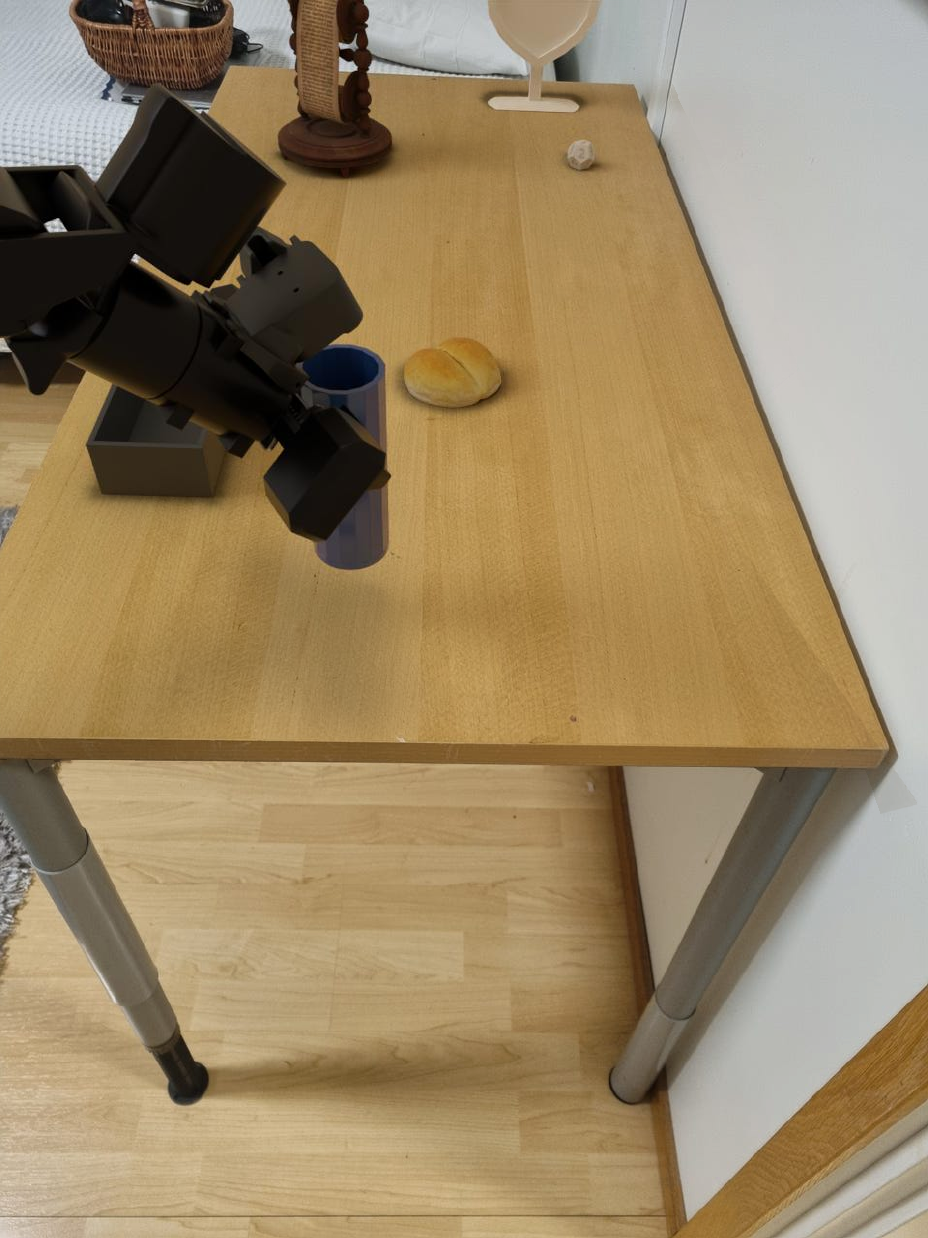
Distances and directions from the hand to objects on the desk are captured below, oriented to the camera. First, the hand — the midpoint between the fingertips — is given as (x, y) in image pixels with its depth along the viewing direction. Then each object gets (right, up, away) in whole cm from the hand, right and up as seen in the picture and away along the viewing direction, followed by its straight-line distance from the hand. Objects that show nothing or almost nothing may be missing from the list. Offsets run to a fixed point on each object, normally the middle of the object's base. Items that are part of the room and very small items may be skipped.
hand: (365, 456), depth 60 cm
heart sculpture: (+17, +66, +78) cm, 104 cm away
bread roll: (+5, +12, +29) cm, 32 cm away
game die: (+22, +50, +64) cm, 84 cm away
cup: (-1, -5, +5) cm, 7 cm away
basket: (-19, +7, +24) cm, 31 cm away
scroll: (-11, +51, +63) cm, 82 cm away
